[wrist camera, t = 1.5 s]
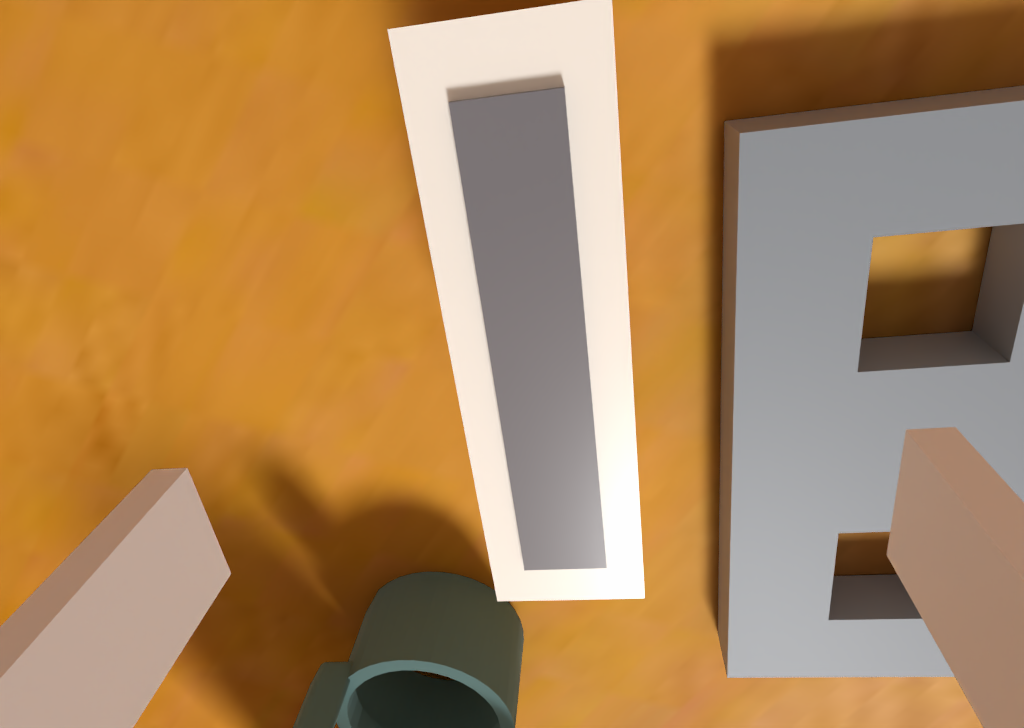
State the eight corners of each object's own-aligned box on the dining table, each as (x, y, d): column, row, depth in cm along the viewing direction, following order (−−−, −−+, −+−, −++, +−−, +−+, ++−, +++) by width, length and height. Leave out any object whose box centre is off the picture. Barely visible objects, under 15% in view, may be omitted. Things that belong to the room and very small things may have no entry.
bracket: (335, 580, 34) (259, 754, 26) (512, 562, 32) (487, 743, 24) (390, 695, 38) (339, 876, 30) (550, 685, 36) (540, 875, 28)
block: (459, 21, 22) (383, 29, 13) (601, 1, 21) (612, -5, 13) (521, 438, 29) (496, 607, 21) (628, 432, 28) (645, 604, 20)
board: (724, 120, 22) (739, 133, 20) (1169, 67, 20) (1240, 74, 18) (717, 633, 33) (727, 677, 31) (1007, 629, 31) (1039, 676, 29)
